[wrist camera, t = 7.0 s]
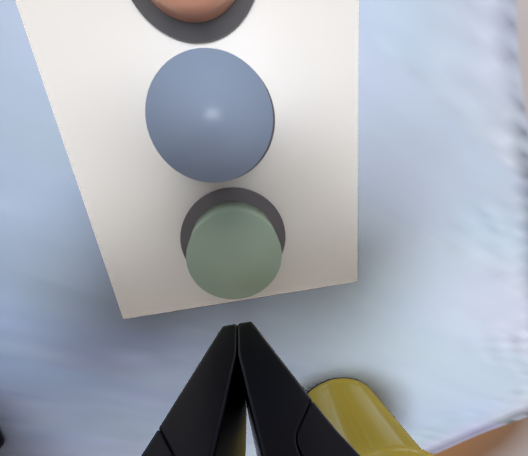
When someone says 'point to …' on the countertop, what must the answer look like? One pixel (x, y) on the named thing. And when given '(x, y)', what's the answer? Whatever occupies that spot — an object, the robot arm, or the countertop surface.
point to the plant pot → (363, 419)
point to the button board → (184, 188)
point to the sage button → (233, 251)
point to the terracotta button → (193, 9)
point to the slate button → (209, 115)
